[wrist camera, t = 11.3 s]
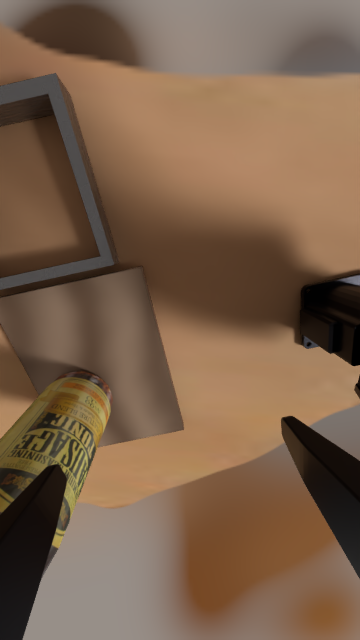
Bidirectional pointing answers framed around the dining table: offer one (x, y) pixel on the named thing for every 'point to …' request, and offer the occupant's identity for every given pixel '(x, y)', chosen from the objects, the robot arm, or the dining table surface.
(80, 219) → the dining table surface
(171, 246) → the dining table surface
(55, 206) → the dining table surface
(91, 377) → the sauce bottle
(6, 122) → the grey square frame
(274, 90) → the dining table surface
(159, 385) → the brown flat slab
